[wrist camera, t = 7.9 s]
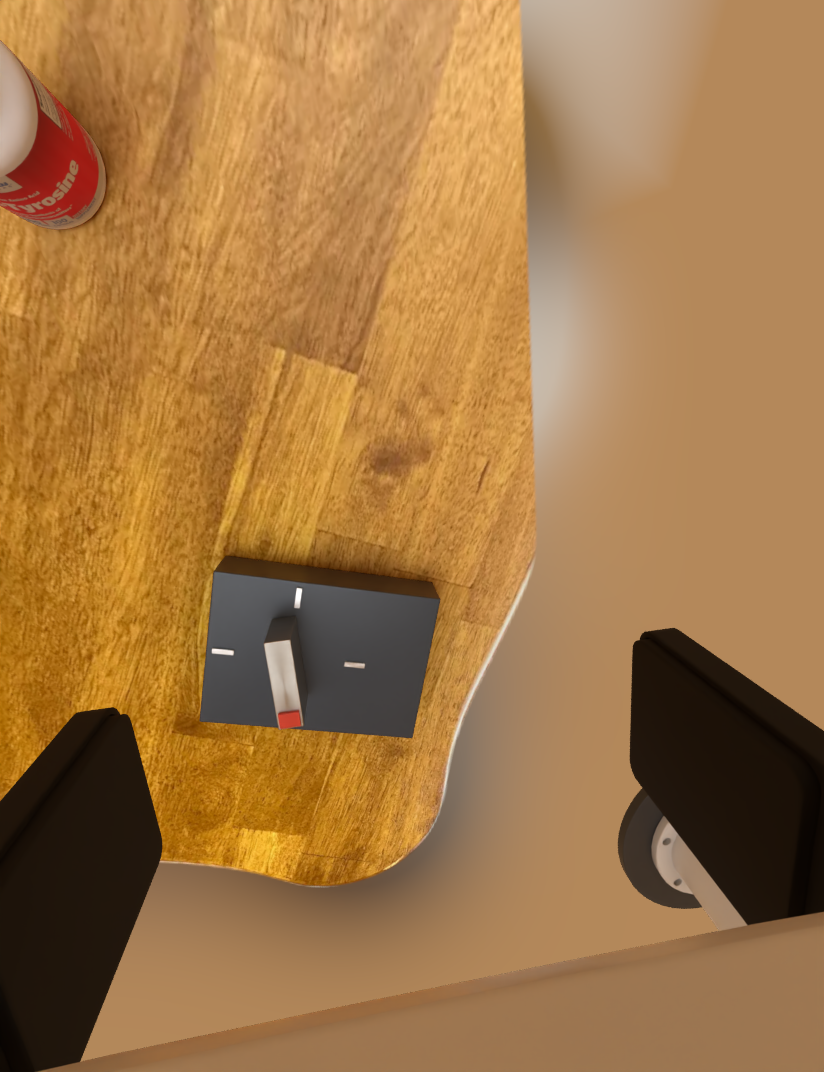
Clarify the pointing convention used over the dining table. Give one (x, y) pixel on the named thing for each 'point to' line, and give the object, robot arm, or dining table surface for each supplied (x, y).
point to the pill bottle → (44, 153)
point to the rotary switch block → (319, 645)
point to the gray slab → (286, 672)
